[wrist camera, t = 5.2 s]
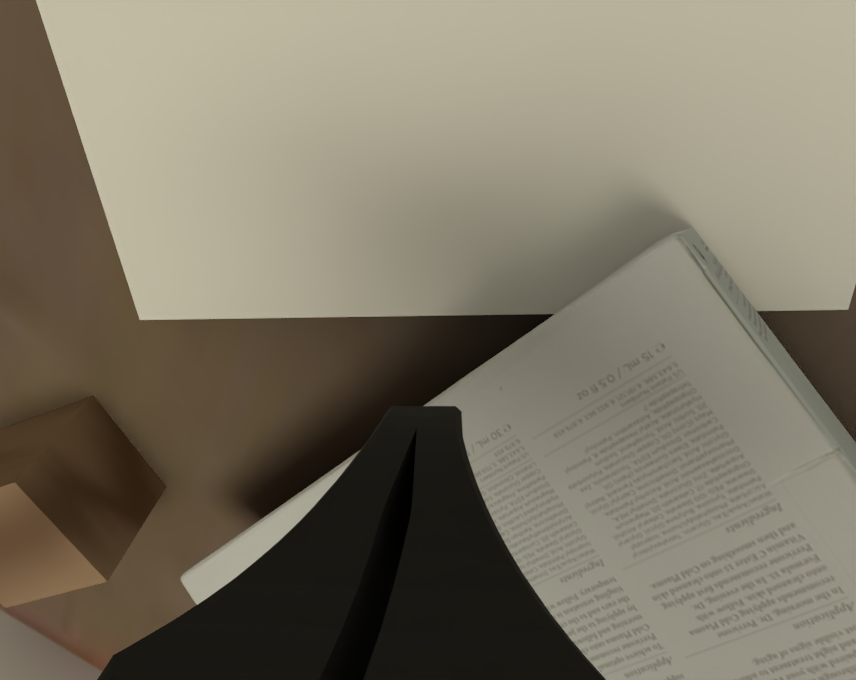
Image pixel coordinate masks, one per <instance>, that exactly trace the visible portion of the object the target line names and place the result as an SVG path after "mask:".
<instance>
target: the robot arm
mask: <svg viewBox="0 0 856 680" xmlns="http://www.w3.org/2000/svg"><path fill="white" fill-rule="evenodd" d="M97 680H606V679H605V678H604V677H603V676H602V674H601V673H600V672H599V671H598V670H597V669H596V668H595V667H594V666H593V664H592V663H591V662H590V661H589V660H588V659H587V658H586V657H585V655H584V654H583V653H582V652H581V651H580V649H579V648H578V647H577V646H576V645H575V644H574V642H573V641H572V640H571V639H570V638H569V636H568V635H567V634H566V633H565V631H564V630H563V629H562V627H561V626H560V625H559V624H558V622H557V621H556V620H555V619H554V617H553V616H552V615H551V613H550V612H549V611H548V609H547V608H546V606H545V605H544V603H543V602H542V600H541V599H540V598H539V596H538V595H537V593H536V592H535V590H534V589H533V588H532V586H531V585H530V583H529V582H528V580H527V579H526V577H525V576H524V574H523V573H522V571H521V570H520V568H519V566H518V565H517V563H516V561H515V560H514V558H513V556H512V555H511V553H510V551H509V549H508V548H507V546H506V544H505V542H504V540H503V539H502V537H501V535H500V533H499V531H498V529H497V527H496V525H495V523H494V521H493V519H492V517H491V515H490V513H489V510H488V508H487V506H486V504H485V501H484V499H483V497H482V495H481V492H480V490H479V487H478V485H477V482H476V479H475V476H474V473H473V470H472V468H471V465H470V462H469V459H468V455H467V452H466V448H465V443H464V439H463V431H462V411H461V410H459V409H458V408H457V407H456V406H392V407H391V408H390V409H389V410H388V411H387V412H386V413H385V415H384V417H383V418H382V420H381V421H380V423H379V424H378V426H377V427H376V429H375V430H374V432H373V433H372V434H371V436H370V437H369V439H368V440H367V442H366V443H365V444H364V446H363V447H362V448H361V450H360V451H359V453H358V454H357V455H356V456H355V458H354V459H353V460H352V462H351V463H350V464H349V465H348V467H347V468H346V469H345V471H344V472H343V473H342V474H341V476H340V477H339V478H338V479H337V480H336V482H335V483H334V484H333V485H332V486H331V487H330V488H329V490H328V491H327V492H326V493H325V494H324V495H323V496H322V498H321V499H320V500H319V501H318V502H317V503H316V504H315V506H314V507H313V508H312V509H311V510H310V511H309V512H308V513H307V514H306V515H305V516H304V517H303V518H302V519H301V520H300V521H299V522H298V523H297V524H296V525H295V526H294V527H293V528H292V529H291V530H290V531H289V532H288V533H287V534H286V535H285V536H284V537H283V538H282V539H281V540H279V541H278V542H277V543H276V544H275V545H274V546H273V547H272V548H270V549H269V550H268V551H267V552H266V553H265V554H263V555H262V556H261V557H260V558H259V559H258V560H256V561H255V562H254V563H253V564H252V565H250V566H249V567H248V568H247V569H246V570H244V571H243V572H242V573H241V574H239V575H238V576H237V577H236V578H234V579H233V580H232V581H230V582H229V583H228V584H226V585H225V586H223V587H222V588H221V589H219V590H218V591H217V592H215V593H214V594H212V595H211V596H210V597H208V598H207V599H205V600H204V601H202V602H201V603H199V604H198V605H196V606H195V607H193V608H192V609H190V610H189V611H187V612H186V613H184V614H183V615H181V616H180V617H178V618H176V619H175V620H173V621H172V622H170V623H168V624H167V625H165V626H163V627H161V628H160V629H158V630H156V631H155V632H153V633H151V634H150V635H148V636H146V637H144V638H143V639H141V640H139V641H138V642H136V643H134V644H133V645H131V646H129V647H127V648H126V649H124V650H122V651H120V652H118V653H117V654H115V655H113V657H112V658H111V660H110V661H109V663H108V664H107V666H106V667H105V669H104V670H103V672H102V673H101V675H100V676H99V678H98V679H97Z"/></svg>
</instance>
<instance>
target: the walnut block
mask: <svg viewBox="0 0 856 680" xmlns="http://www.w3.org/2000/svg"><path fill="white" fill-rule="evenodd" d="M165 488H166V486H165V485H164V483H163V482H162V481H161V480H160V478H159V477H158V476H157V475H156V473H155V472H154V471H153V470H152V468H151V467H150V466H149V465H148V463H147V462H146V461H145V460H144V458H143V457H142V456H141V455H140V453H139V452H138V451H137V450H136V448H135V447H134V446H133V445H132V443H131V442H130V441H129V440H128V438H127V437H126V436H125V435H124V433H123V432H122V431H121V430H120V428H119V427H118V426H117V425H116V423H115V422H114V421H113V420H112V418H111V417H110V416H109V415H108V413H107V412H106V411H105V410H104V408H103V407H102V406H101V405H100V403H99V402H98V401H97V400H96V398H95V397H94V396H92V397H89V398H86V399H83V400H81V401H78V402H75V403H72V404H70V405H67V406H64V407H61V408H58V409H56V410H53V411H50V412H47V413H44V414H42V415H39V416H36V417H33V418H31V419H28V420H25V421H22V422H19V423H17V424H14V425H11V426H8V427H5V428H3V429H0V604H2V605H3V606H4V607H5V608H7V607H11V606H15V605H18V604H22V603H26V602H30V601H34V600H38V599H42V598H46V597H49V596H53V595H57V594H61V593H65V592H69V591H73V590H77V589H80V588H84V587H88V586H92V585H96V584H100V583H104V582H107V581H108V580H109V578H110V576H111V575H112V573H113V572H114V570H115V568H116V567H117V565H118V564H119V562H120V560H121V559H122V557H123V556H124V554H125V552H126V551H127V549H128V547H129V546H130V544H131V543H132V541H133V539H134V538H135V536H136V535H137V533H138V531H139V530H140V528H141V527H142V525H143V523H144V522H145V520H146V518H147V517H148V515H149V514H150V512H151V510H152V509H153V507H154V506H155V504H156V502H157V501H158V499H159V498H160V496H161V494H162V493H163V491H164V489H165Z"/></svg>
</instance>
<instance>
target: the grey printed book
mask: <svg viewBox="0 0 856 680" xmlns="http://www.w3.org/2000/svg"><path fill="white" fill-rule="evenodd" d="M424 406H456V407H457V408H458V409H459V410H461V411H462V431H463V439H464V443H465V448H466V452H467V455H468V459H469V462H470V465H471V468H472V470H473V473H474V476H475V479H476V482H477V485H478V487H479V490H480V492H481V495H482V497H483V499H484V501H485V504H486V506H487V508H488V510H489V513H490V515H491V517H492V519H493V521H494V523H495V525H496V527H497V529H498V531H499V533H500V535H501V537H502V539H503V540H504V542H505V544H506V546H507V548H508V549H509V551H510V553H511V555H512V556H513V558H514V560H515V561H516V563H517V565H518V566H519V568H520V570H521V571H522V573H523V574H524V576H525V577H526V579H527V580H528V582H529V583H530V585H531V586H532V588H533V589H534V590H535V592H536V593H537V595H538V596H539V598H540V599H541V600H542V602H543V603H544V605H545V606H546V608H547V609H548V611H549V612H550V613H551V615H552V616H553V617H554V619H555V620H556V621H557V622H558V624H559V625H560V626H561V627H562V629H563V630H564V631H565V633H566V634H567V635H568V636H569V638H570V639H571V640H572V641H573V642H574V644H575V645H576V646H577V647H578V648H579V649H580V651H581V652H582V653H583V654H584V655H585V657H586V658H587V659H588V660H589V661H590V662H591V663H592V664H593V666H594V667H595V668H596V669H597V670H598V671H599V672H600V673H601V674H602V676H603V677H604V678H605V679H606V680H856V442H855V441H854V440H853V438H852V437H851V436H850V435H849V433H848V432H847V431H846V429H845V428H844V427H843V425H842V424H841V423H840V421H839V420H838V419H837V417H836V416H835V415H834V413H833V412H832V411H831V409H830V408H829V407H828V405H827V404H826V403H825V402H824V400H823V399H822V398H821V396H820V395H819V394H818V392H817V391H816V390H815V388H814V387H813V386H812V384H811V383H810V382H809V380H808V379H807V378H806V376H805V375H804V374H803V372H802V371H801V370H800V368H799V367H798V366H797V364H796V363H795V362H794V361H793V359H792V358H791V357H790V355H789V354H788V353H787V351H786V350H785V349H784V347H783V346H782V345H781V343H780V342H779V341H778V339H777V338H776V337H775V335H774V334H773V333H772V331H771V330H770V329H769V327H768V326H767V325H766V323H765V322H764V321H763V319H762V318H761V317H760V315H759V314H758V313H757V311H756V310H755V309H754V307H753V306H752V305H751V303H750V302H749V301H748V299H747V298H746V297H745V295H744V294H743V293H742V291H741V290H740V289H739V287H738V286H737V285H736V283H735V282H734V281H733V279H732V278H731V277H730V275H729V274H728V273H727V271H726V270H725V269H724V267H723V266H722V265H721V263H720V262H719V261H718V259H717V258H716V257H715V255H714V254H713V253H712V251H711V250H710V249H709V247H708V246H707V245H706V243H705V242H704V241H703V239H702V238H701V237H700V235H699V234H698V233H697V232H696V230H695V229H694V228H693V227H691V228H689V229H686V230H683V231H680V232H676V233H672V234H670V235H668V236H665V237H664V238H662V239H661V240H659V241H658V242H656V243H655V244H653V245H652V246H650V247H649V248H647V249H646V250H644V251H643V252H642V253H640V254H639V255H637V256H636V257H635V258H633V259H632V260H631V261H629V262H628V263H626V264H625V265H624V266H622V267H621V268H619V269H618V270H617V271H615V272H614V273H612V274H611V275H610V276H608V277H607V278H605V279H604V280H603V281H601V282H600V283H599V284H597V285H596V286H594V287H593V288H591V289H590V290H589V291H587V292H586V293H584V294H583V295H581V296H580V297H579V298H577V299H576V300H574V301H573V302H571V303H570V304H569V305H567V306H566V307H564V308H563V309H561V310H560V311H559V312H557V313H556V314H554V315H553V316H551V317H550V318H549V319H547V320H546V321H544V322H543V323H541V324H540V325H539V326H537V327H536V328H534V329H533V330H531V331H530V332H529V333H527V334H526V335H524V336H523V337H521V338H520V339H518V340H517V341H516V342H514V343H513V344H511V345H510V346H508V347H507V348H506V349H504V350H503V351H501V352H500V353H498V354H497V355H495V356H494V357H492V358H491V359H490V360H488V361H487V362H485V363H484V364H482V365H481V366H479V367H478V368H476V369H475V370H473V371H472V372H470V373H469V374H468V375H466V376H465V377H463V378H462V379H460V380H459V381H458V382H456V383H455V384H453V385H452V386H451V387H449V388H448V389H446V390H445V391H444V392H442V393H441V394H439V395H438V396H436V397H435V398H434V399H432V400H431V401H429V402H428V403H427V404H425V405H424ZM359 451H360V450H359ZM359 451H358V452H356V453H355V454H354V455H352V456H351V457H349V458H348V459H346V460H345V461H344V462H342V463H341V464H339V465H338V466H336V467H335V468H334V469H332V470H331V471H329V472H328V473H327V474H325V475H324V476H322V477H321V478H319V479H318V480H317V481H315V482H314V483H312V484H311V485H309V486H308V487H307V488H305V489H304V490H302V491H301V492H299V493H298V494H297V495H295V496H294V497H292V498H291V499H289V500H288V501H287V502H285V503H284V504H282V505H281V506H279V507H278V508H276V509H275V510H274V511H272V512H271V513H269V514H268V515H266V516H265V517H264V518H262V519H261V520H259V521H258V522H256V523H255V524H253V525H252V526H250V527H249V528H248V529H246V530H245V531H243V532H242V533H240V534H239V535H237V536H236V537H235V538H233V539H232V540H230V541H229V542H227V543H226V544H224V545H223V546H221V547H220V548H219V549H217V550H216V551H214V552H213V553H211V554H210V555H208V556H207V557H206V558H204V559H203V560H201V561H200V562H198V563H197V564H195V565H194V566H193V567H191V568H190V569H188V570H187V571H185V572H184V573H183V575H182V576H181V582H182V584H183V585H184V587H185V588H186V590H187V591H188V593H189V594H190V596H191V597H192V599H193V600H194V602H195V603H196V604H197V605H198V604H199V603H201V602H202V601H204V600H205V599H207V598H208V597H210V596H211V595H212V594H214V593H215V592H217V591H218V590H219V589H221V588H222V587H223V586H225V585H226V584H228V583H229V582H230V581H232V580H233V579H234V578H236V577H237V576H238V575H239V574H241V573H242V572H243V571H244V570H246V569H247V568H248V567H249V566H250V565H252V564H253V563H254V562H255V561H256V560H258V559H259V558H260V557H261V556H262V555H263V554H265V553H266V552H267V551H268V550H269V549H270V548H272V547H273V546H274V545H275V544H276V543H277V542H278V541H279V540H281V539H282V538H283V537H284V536H285V535H286V534H287V533H288V532H289V531H290V530H291V529H292V528H293V527H294V526H295V525H296V524H297V523H298V522H299V521H300V520H301V519H302V518H303V517H304V516H305V515H306V514H307V513H308V512H309V511H310V510H311V509H312V508H313V507H314V506H315V504H316V503H317V502H318V501H319V500H320V499H321V498H322V496H323V495H324V494H325V493H326V492H327V491H328V490H329V488H330V487H331V486H332V485H333V484H334V483H335V482H336V480H337V479H338V478H339V477H340V476H341V474H342V473H343V472H344V471H345V469H346V468H347V467H348V465H349V464H350V463H351V462H352V460H353V459H354V458H355V456H356V455H357V454H358V453H359Z"/></svg>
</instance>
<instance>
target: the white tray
mask: <svg viewBox="0 0 856 680" xmlns="http://www.w3.org/2000/svg"><path fill="white" fill-rule="evenodd" d="M36 2H37V5H38V8H39V11H40V14H41V17H42V20H43V23H44V26H45V29H46V32H47V36H48V39H49V42H50V45H51V48H52V51H53V54H54V57H55V60H56V63H57V66H58V69H59V72H60V76H61V79H62V82H63V85H64V88H65V91H66V94H67V97H68V100H69V103H70V106H71V109H72V113H73V116H74V119H75V122H76V125H77V128H78V131H79V134H80V137H81V140H82V143H83V146H84V149H85V153H86V156H87V159H88V162H89V165H90V168H91V171H92V174H93V177H94V180H95V183H96V186H97V190H98V193H99V196H100V199H101V202H102V205H103V208H104V211H105V214H106V217H107V220H108V223H109V226H110V230H111V233H112V236H113V239H114V242H115V245H116V248H117V251H118V254H119V257H120V260H121V263H122V267H123V270H124V273H125V276H126V279H127V282H128V285H129V288H130V291H131V294H132V297H133V300H134V303H135V307H136V310H137V313H138V316H139V319H140V320H170V319H240V318H309V317H379V316H448V315H518V314H556V313H557V312H559V311H560V310H561V309H563V308H564V307H566V306H567V305H569V304H570V303H571V302H573V301H574V300H576V299H577V298H579V297H580V296H581V295H583V294H584V293H586V292H587V291H589V290H590V289H591V288H593V287H594V286H596V285H597V284H599V283H600V282H601V281H603V280H604V279H605V278H607V277H608V276H610V275H611V274H612V273H614V272H615V271H617V270H618V269H619V268H621V267H622V266H624V265H625V264H626V263H628V262H629V261H631V260H632V259H633V258H635V257H636V256H637V255H639V254H640V253H642V252H643V251H644V250H646V249H647V248H649V247H650V246H652V245H653V244H655V243H656V242H658V241H659V240H661V239H662V238H664V237H665V236H668V235H670V234H672V233H676V232H680V231H683V230H686V229H689V228H691V227H693V228H694V229H695V230H696V232H697V233H698V234H699V235H700V237H701V238H702V239H703V241H704V242H705V243H706V245H707V246H708V247H709V249H710V250H711V251H712V253H713V254H714V255H715V257H716V258H717V259H718V261H719V262H720V263H721V265H722V266H723V267H724V269H725V270H726V271H727V273H728V274H729V275H730V277H731V278H732V279H733V281H734V282H735V283H736V285H737V286H738V287H739V289H740V290H741V291H742V293H743V294H744V295H745V297H746V298H747V299H748V301H749V302H750V303H751V305H752V306H753V307H754V309H755V310H756V311H796V310H848V309H849V305H850V302H851V298H852V295H853V291H854V288H855V284H856V0H36Z"/></svg>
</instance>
